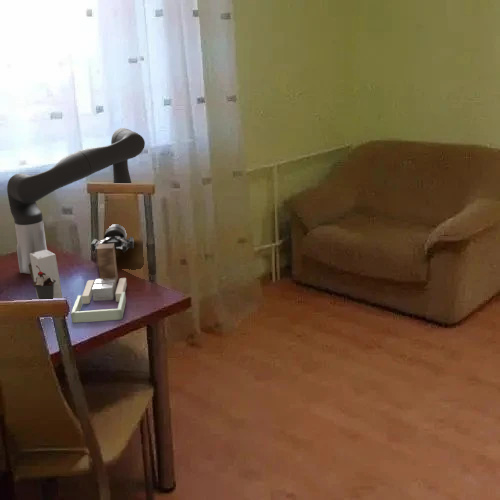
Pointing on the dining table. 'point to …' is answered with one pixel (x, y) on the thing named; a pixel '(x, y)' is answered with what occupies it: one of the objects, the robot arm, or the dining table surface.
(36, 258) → the skincare box
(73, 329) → the dining table surface
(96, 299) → the grey rectangular block
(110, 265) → the block
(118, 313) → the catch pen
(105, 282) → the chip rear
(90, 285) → the slot rails
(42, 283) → the sundae
